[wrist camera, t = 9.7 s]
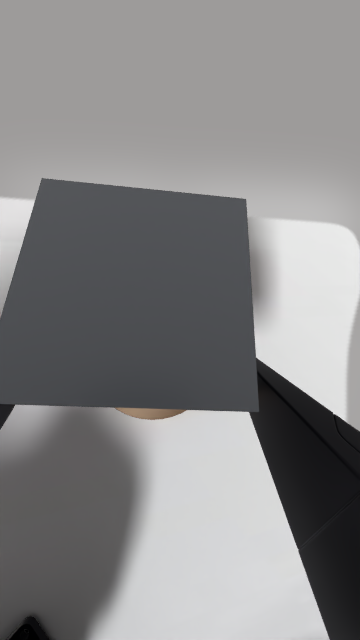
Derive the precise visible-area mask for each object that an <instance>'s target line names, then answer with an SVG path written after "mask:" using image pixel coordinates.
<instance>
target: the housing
mask: <svg viewBox="0 0 360 640" xmlns="http://www.w3.org/2000/svg"><path fill="white" fill-rule="evenodd" d="M0 404H17V405H49V406H81V407H113V408H146V409H178V410H210V411H242V412H259V401H258V385H257V369H256V352H255V336H254V320H253V304H252V288H251V272H250V255H249V239H248V223H247V207H246V199H239V198H230V197H220V196H210V195H201V194H191V193H181V192H172V191H162V190H151V189H142V188H132V187H123V186H113V185H103V184H93V183H83V182H73V181H64V180H53V179H44V178H42V180H41V183H40V186H39V190H38V193H37V196H36V200H35V203H34V207H33V210H32V213H31V217H30V220H29V224H28V227H27V230H26V234H25V237H24V241H23V244H22V247H21V251H20V254H19V257H18V261H17V264H16V268H15V271H14V274H13V278H12V281H11V285H10V288H9V291H8V295H7V298H6V301H5V305H4V308H3V312H2V315H1V318H0Z"/></svg>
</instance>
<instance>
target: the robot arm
mask: <svg viewBox="0 0 360 640" xmlns="http://www.w3.org/2000/svg"><path fill="white" fill-rule="evenodd" d="M256 369H257V385H258V401H259V412H249V413H250V416H251V419H252V422H253V424H254V427H255V430H256V433H257V436H258V439H259V441H260V444H261V447H262V450H263V453H264V455H265V458H266V461H267V464H268V467H269V469H270V472H271V475H272V478H273V481H274V484H275V486H276V489H277V492H278V495H279V498H280V500H281V503H282V506H283V509H284V512H285V514H286V517H287V520H288V523H289V526H290V529H291V531H292V534H293V537H294V540H295V543H296V545H297V548H298V549H299V554H300V557H301V560H302V563H303V566H304V568H305V571H306V574H307V577H308V580H309V582H310V585H311V588H312V591H313V594H314V597H315V599H316V602H317V605H318V608H319V611H320V613H321V616H322V619H323V622H324V625H325V627H326V630H327V633H328V636H329V639H330V640H360V431H358V430H356V429H355V428H354V427H352V426H351V425H349V424H348V423H347V422H345V421H344V420H342V419H341V418H340V417H338V416H337V415H335V414H334V415H333V413H332V412H331V411H330V410H328V409H327V408H326V407H324V406H323V405H321V404H320V403H319V402H317V401H316V400H314V399H313V398H312V397H310V396H309V395H307V394H306V393H305V392H303V391H302V390H300V389H299V388H298V387H296V386H295V385H293V384H292V383H291V382H289V381H288V380H286V379H285V378H284V377H282V376H281V375H280V374H278V373H277V372H275V371H274V370H273V369H271V368H270V367H268V366H267V365H266V364H264V363H263V362H261V361H260V360H259V359H257V358H256ZM14 406H15V404H0V429H1V428H2V426H3V424H4V423H5V421H6V420H7V418H8V416H9V415H10V413H11V411H12V410H13V408H14ZM24 629H27V630H28V631H29V633H26V632H25V630H24ZM6 640H49V638H48V637H47V635H46V634H45V632H44V631H43V629H42V628H41V626H40V624H39V623H38V621H37V620H36V619H35V618H34V617H32V616H29V617H27V618H25V619H24V620H23V621H22V623H21V624H20V625H19V626H18V627H17V628H16V629H15V630H14V632H13V633H12V634H11V635H10V636H9V637H8V638H7V639H6Z"/></svg>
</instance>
